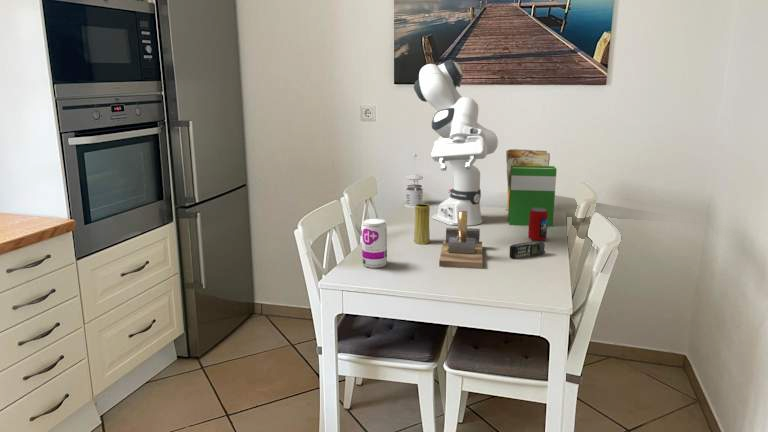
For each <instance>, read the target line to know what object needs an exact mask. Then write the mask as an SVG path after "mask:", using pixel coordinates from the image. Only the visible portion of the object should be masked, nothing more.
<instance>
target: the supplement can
mask: <svg viewBox="0 0 768 432" xmlns="http://www.w3.org/2000/svg"><path fill="white" fill-rule="evenodd" d="M387 226H388V225H387V223H386V220H385V219H381V218H377V217H376V218H367V219H364V220H363V222H362V224H361V250H362V251H361V254H362V255H361V258H362V261H361V263H362V265H364V267H367V268H371V269H379V268H382V267H385V266H386V264H387V263H388V254H387V253H388V246H387V244H388V234H387V233H388V227H387Z"/></svg>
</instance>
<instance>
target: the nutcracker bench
mask: <svg viewBox="0 0 768 432" xmlns="http://www.w3.org/2000/svg"><path fill="white" fill-rule="evenodd" d="M480 230H481V229H480V228H471V227H470V228H469V227H467V238H475V253H453V252H448V244H449V237H458V227H446V228H445V239H443V242H442V246H441V251H440V254H439V255H440V256H439V261H438V262H439V263H438V266H439V267H443V268H445V267H446V268H466V269H467V268H468V269H483V241H480V236H481V235H480V234H481V231H480Z"/></svg>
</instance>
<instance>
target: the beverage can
mask: <svg viewBox="0 0 768 432" xmlns="http://www.w3.org/2000/svg"><path fill="white" fill-rule="evenodd" d="M547 221H548V213H547V211H546V209H545V208H538V207H537V208H532V210H531V211H530V214H529V226H528V235H527V237H528V239H529V240H530V241H531V242H533V241H541V242H544V241H545V240H546V239H547V233H548V226H547Z"/></svg>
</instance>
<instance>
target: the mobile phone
mask: <svg viewBox="0 0 768 432" xmlns="http://www.w3.org/2000/svg"><path fill="white" fill-rule="evenodd" d="M545 246H546V245H545V242H544V241H527V242H520V243H515V244H511V245H509V258H510V259H513V260H514V259H522V258H528V257H537V256H539V255H542V254H544V253H546V250H545Z"/></svg>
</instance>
